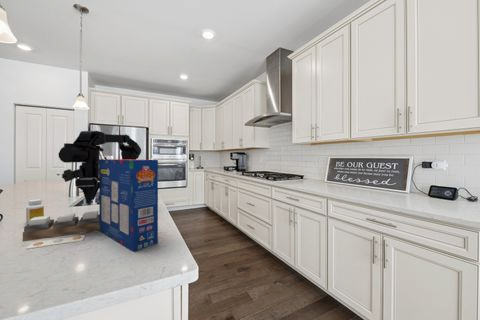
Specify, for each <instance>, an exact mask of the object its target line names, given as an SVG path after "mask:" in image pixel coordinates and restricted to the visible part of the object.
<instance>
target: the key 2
mask: <svg viewBox="0 0 480 320" xmlns="http://www.w3.org/2000/svg"><path fill="white" fill-rule="evenodd" d="M98 214H99V210H96V211H94V210H93V211H84V212H83V214H82V217H83V220H84V219H93V218H98Z"/></svg>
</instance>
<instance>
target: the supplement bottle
mask: <svg viewBox="0 0 480 320" xmlns="http://www.w3.org/2000/svg"><path fill="white" fill-rule="evenodd" d="M44 207H45V206H44V204H42V199H40V198H39V199H31V200H28V205H27V206H26V209H25V211H26V214H25V217H26V220H25V221H26V225H27V224H29V220H31V219H32V218H34V217H42V216H45V208H44Z"/></svg>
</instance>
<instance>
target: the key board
mask: <svg viewBox="0 0 480 320" xmlns="http://www.w3.org/2000/svg"><path fill="white" fill-rule="evenodd" d="M92 232H93V233H94V232H100V231H99V213H98V218H93V219H84V220H83V216H82V217H81V218H80V217H79V216H75V220H74V221H66V222H58V223H57V219H56V220H55V218H53V219H50V222H48V223H47V224H40V225H31V226H29V224H27V223H26V225H24V226H23V232H22V242H26V241H27V242H29V241H33V240H39V239H40V240H41V239H48V238H55V237H62V236H69V235H78V234H83V233H92Z"/></svg>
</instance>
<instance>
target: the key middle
mask: <svg viewBox="0 0 480 320" xmlns="http://www.w3.org/2000/svg"><path fill="white" fill-rule="evenodd" d="M75 217H76V212H74V213H73V212H72V213H65V214H60V215H59V216H57V217H56V220H57V223H58V222H66V221H74V220H75Z"/></svg>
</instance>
